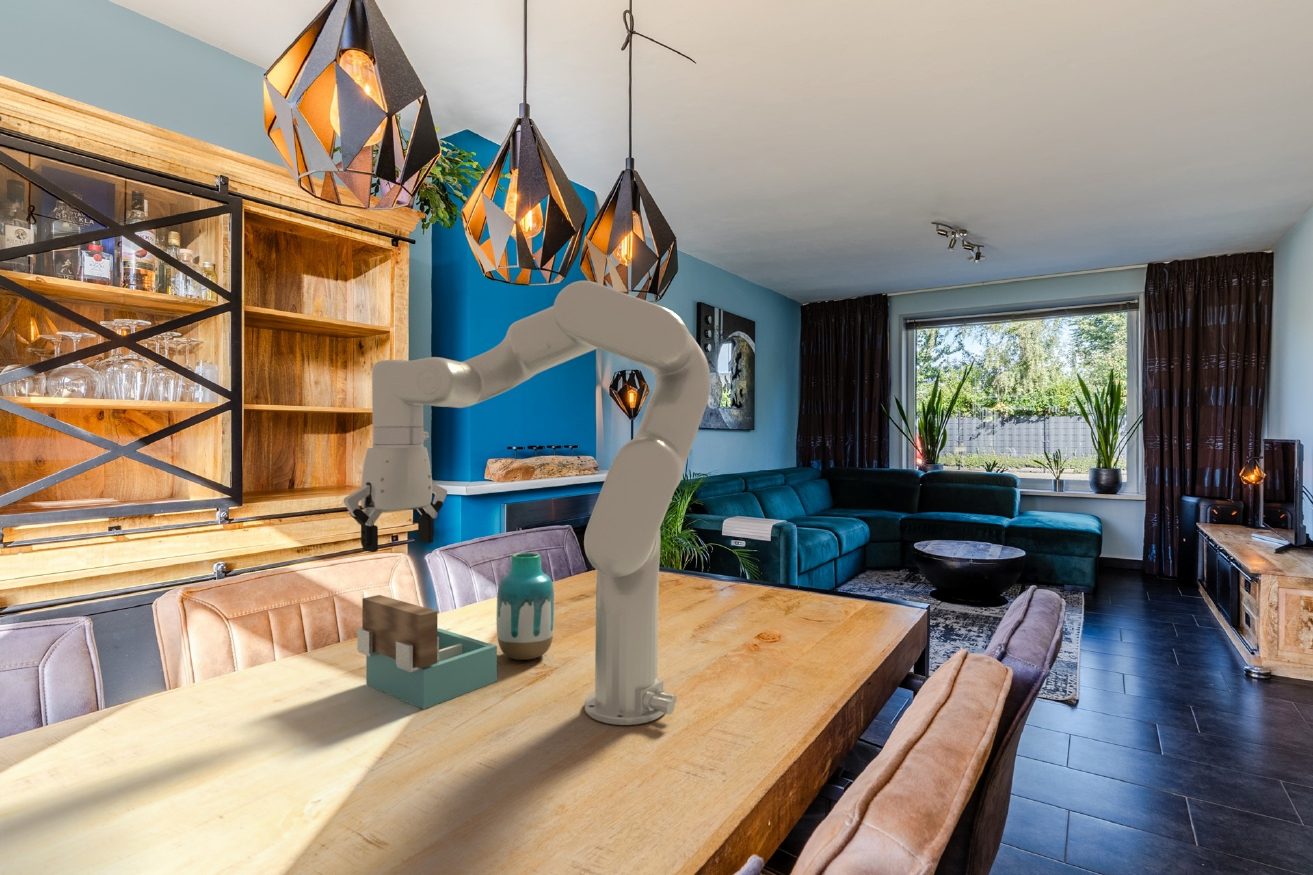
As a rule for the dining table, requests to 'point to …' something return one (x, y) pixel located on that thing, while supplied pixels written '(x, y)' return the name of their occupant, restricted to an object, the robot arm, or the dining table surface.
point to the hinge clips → (402, 650)
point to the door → (401, 628)
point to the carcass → (437, 672)
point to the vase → (525, 609)
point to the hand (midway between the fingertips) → (398, 546)
